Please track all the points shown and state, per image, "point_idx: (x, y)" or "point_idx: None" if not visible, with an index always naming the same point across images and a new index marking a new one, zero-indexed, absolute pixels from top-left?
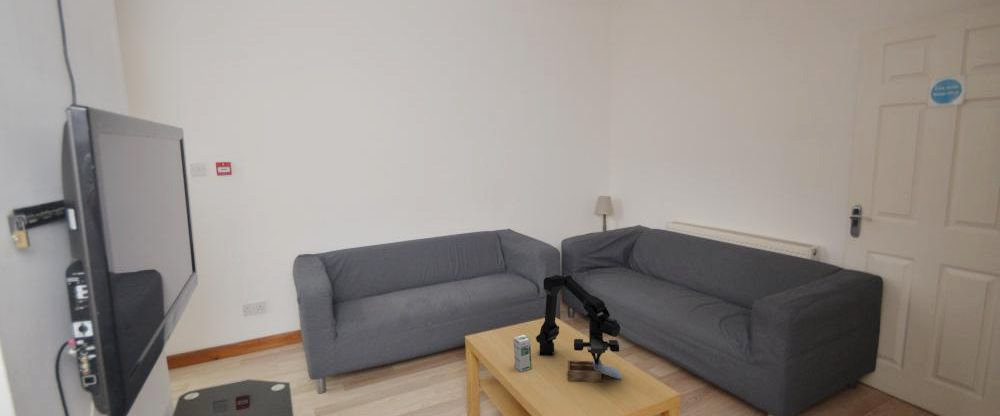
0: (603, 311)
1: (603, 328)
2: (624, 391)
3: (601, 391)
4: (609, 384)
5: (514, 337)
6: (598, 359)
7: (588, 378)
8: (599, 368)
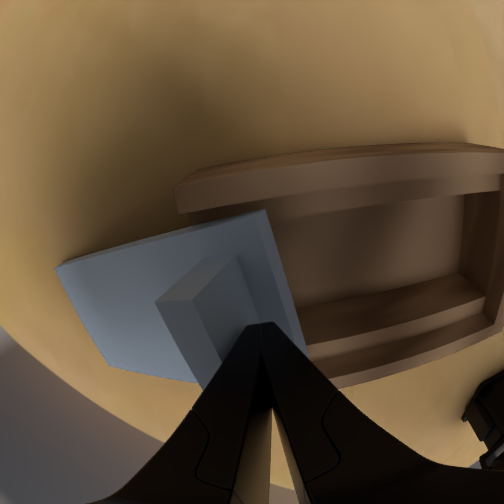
0: None
1: None
2: (26, 108)
3: (183, 28)
4: (125, 159)
5: None
6: (218, 384)
7: (331, 151)
8: (207, 263)
